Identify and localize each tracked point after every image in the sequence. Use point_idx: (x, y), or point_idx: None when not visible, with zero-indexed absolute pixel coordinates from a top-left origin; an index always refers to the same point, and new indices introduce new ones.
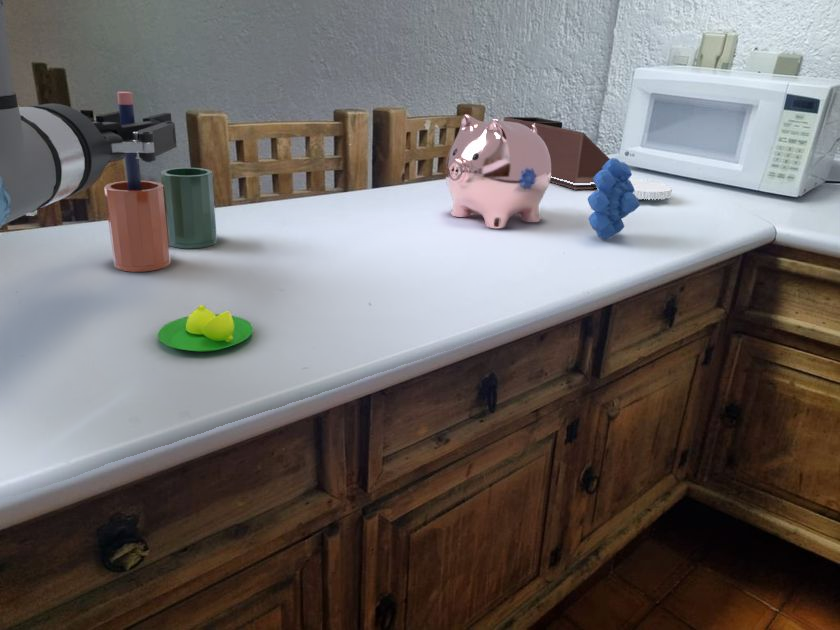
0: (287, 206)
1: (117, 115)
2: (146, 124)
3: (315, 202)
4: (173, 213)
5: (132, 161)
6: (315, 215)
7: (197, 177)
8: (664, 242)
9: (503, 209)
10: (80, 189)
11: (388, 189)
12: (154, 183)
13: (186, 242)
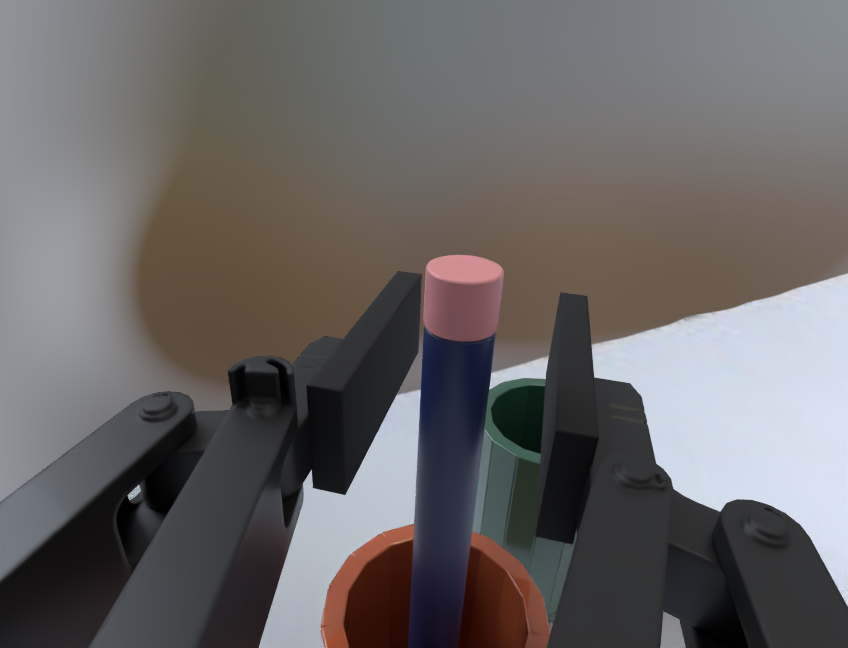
0: (642, 363)
1: (394, 321)
2: (662, 600)
3: (684, 349)
4: (503, 543)
5: (449, 560)
6: (725, 409)
7: None
8: None
9: None
10: None
11: (776, 304)
12: (499, 565)
13: None
